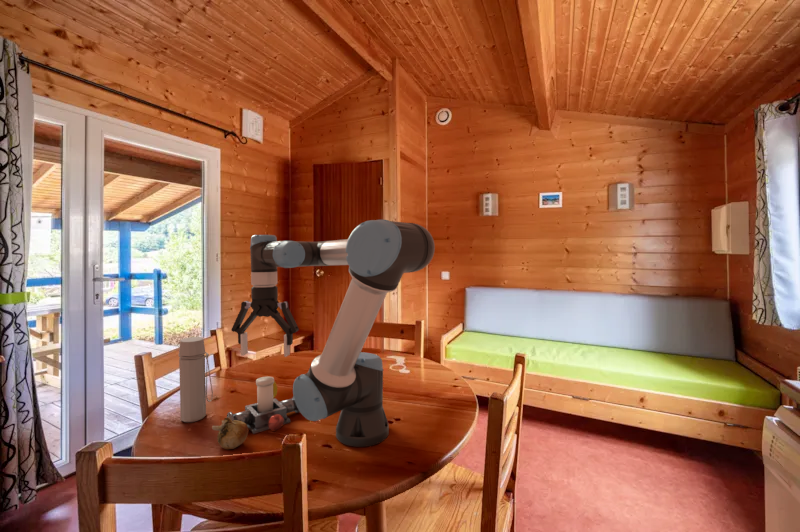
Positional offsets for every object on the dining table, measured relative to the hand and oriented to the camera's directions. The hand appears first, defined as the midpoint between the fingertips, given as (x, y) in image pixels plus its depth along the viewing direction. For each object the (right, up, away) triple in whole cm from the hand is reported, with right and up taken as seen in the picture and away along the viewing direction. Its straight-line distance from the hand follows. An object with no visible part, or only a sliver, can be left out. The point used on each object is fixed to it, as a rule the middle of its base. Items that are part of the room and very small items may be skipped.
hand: (265, 355), depth 112 cm
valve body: (+1, -21, 0) cm, 21 cm away
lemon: (-4, -20, +15) cm, 26 cm away
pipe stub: (0, -20, +1) cm, 20 cm away
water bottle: (-23, -21, +3) cm, 31 cm away
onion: (-4, -22, -13) cm, 26 cm away
